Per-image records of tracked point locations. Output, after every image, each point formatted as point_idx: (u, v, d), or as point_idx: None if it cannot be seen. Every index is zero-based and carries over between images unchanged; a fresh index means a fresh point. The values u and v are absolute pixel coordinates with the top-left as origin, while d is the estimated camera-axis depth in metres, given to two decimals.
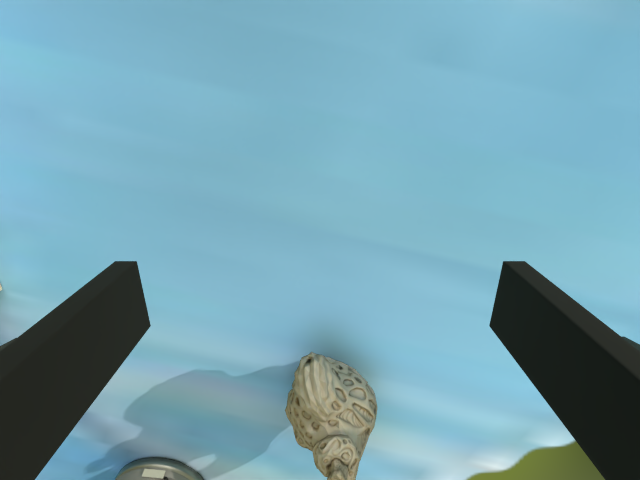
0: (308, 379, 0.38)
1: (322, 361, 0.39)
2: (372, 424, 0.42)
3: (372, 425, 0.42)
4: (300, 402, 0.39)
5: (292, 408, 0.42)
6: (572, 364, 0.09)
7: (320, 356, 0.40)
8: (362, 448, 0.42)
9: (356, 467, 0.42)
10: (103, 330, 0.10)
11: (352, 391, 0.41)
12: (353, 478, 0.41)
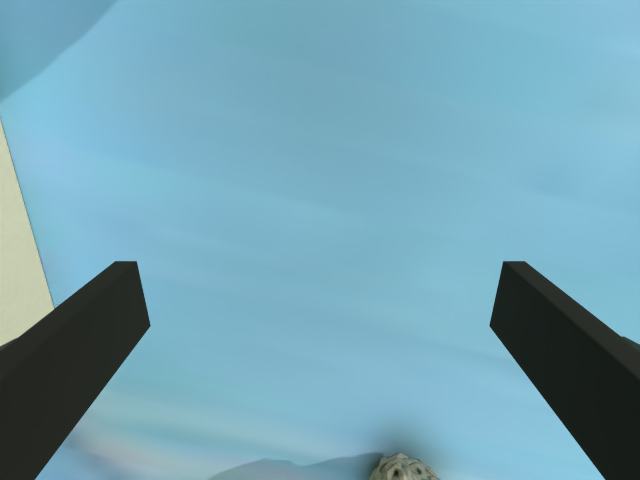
0: None
1: (411, 475, 0.39)
2: None
3: None
4: None
5: None
6: (572, 364, 0.09)
7: (408, 469, 0.39)
8: None
9: None
10: (103, 330, 0.10)
11: None
12: None
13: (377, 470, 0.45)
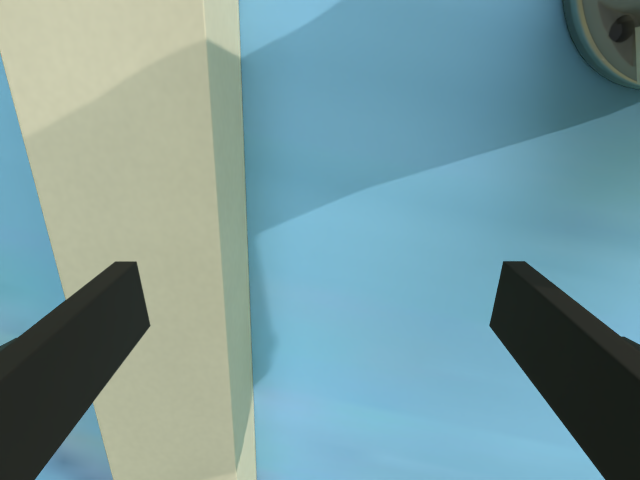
0: None
1: None
2: None
3: None
4: None
5: None
6: (572, 364, 0.09)
7: None
8: None
9: None
10: (103, 330, 0.10)
11: None
12: None
13: None
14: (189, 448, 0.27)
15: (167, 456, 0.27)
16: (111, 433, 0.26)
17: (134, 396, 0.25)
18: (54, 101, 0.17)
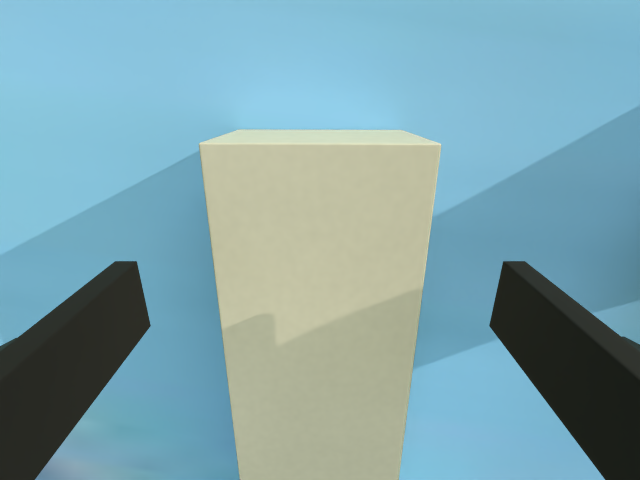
0: None
1: None
2: None
3: None
4: None
5: None
6: (572, 364, 0.09)
7: None
8: None
9: None
10: (103, 330, 0.10)
11: None
12: None
13: None
14: None
15: None
16: None
17: None
18: (263, 338, 0.18)
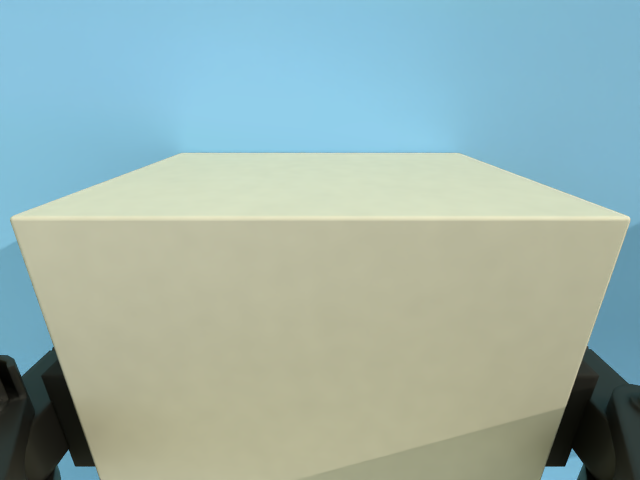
0: None
1: None
2: None
3: None
4: None
5: None
6: None
7: None
8: None
9: None
10: None
11: None
12: None
13: None
14: None
15: None
16: None
17: None
18: None
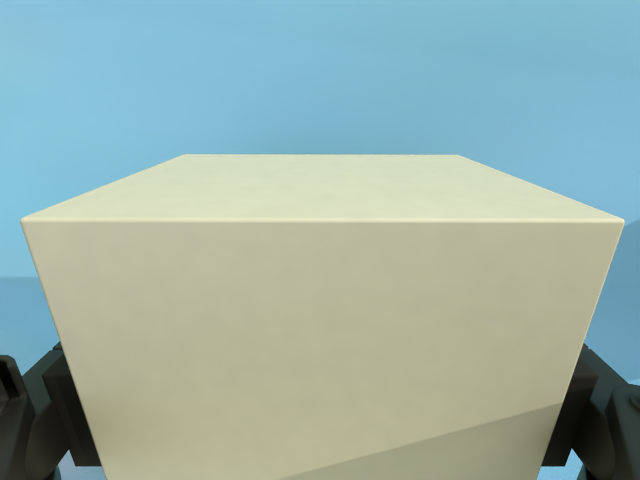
0: None
1: None
2: None
3: None
4: None
5: None
6: None
7: None
8: None
9: None
10: None
11: None
12: None
13: None
14: None
15: None
16: None
17: None
18: None
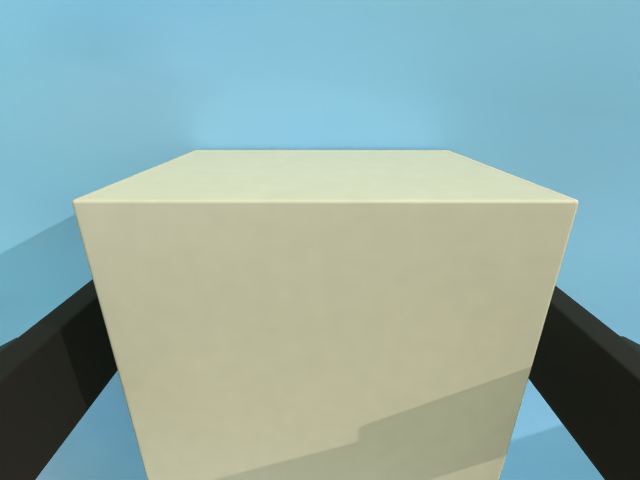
0: None
1: None
2: None
3: None
4: None
5: None
6: (571, 364, 0.09)
7: None
8: None
9: None
10: (104, 330, 0.10)
11: None
12: None
13: None
14: None
15: None
16: None
17: None
18: None
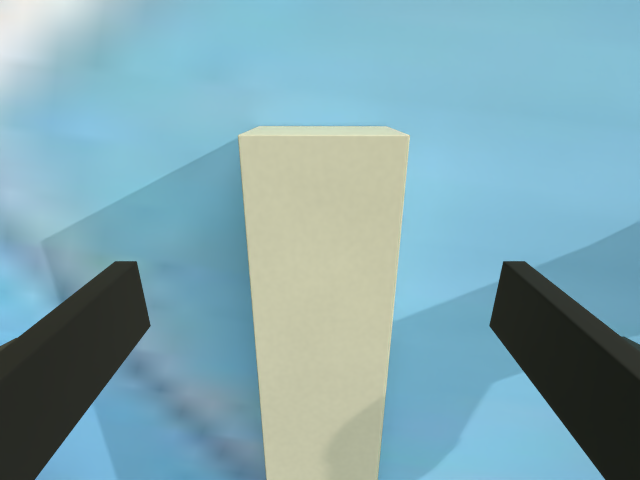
0: None
1: None
2: None
3: None
4: None
5: None
6: (572, 364, 0.09)
7: None
8: None
9: None
10: (103, 330, 0.10)
11: None
12: None
13: None
14: None
15: None
16: None
17: (301, 476, 0.31)
18: (281, 283, 0.24)
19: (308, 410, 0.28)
